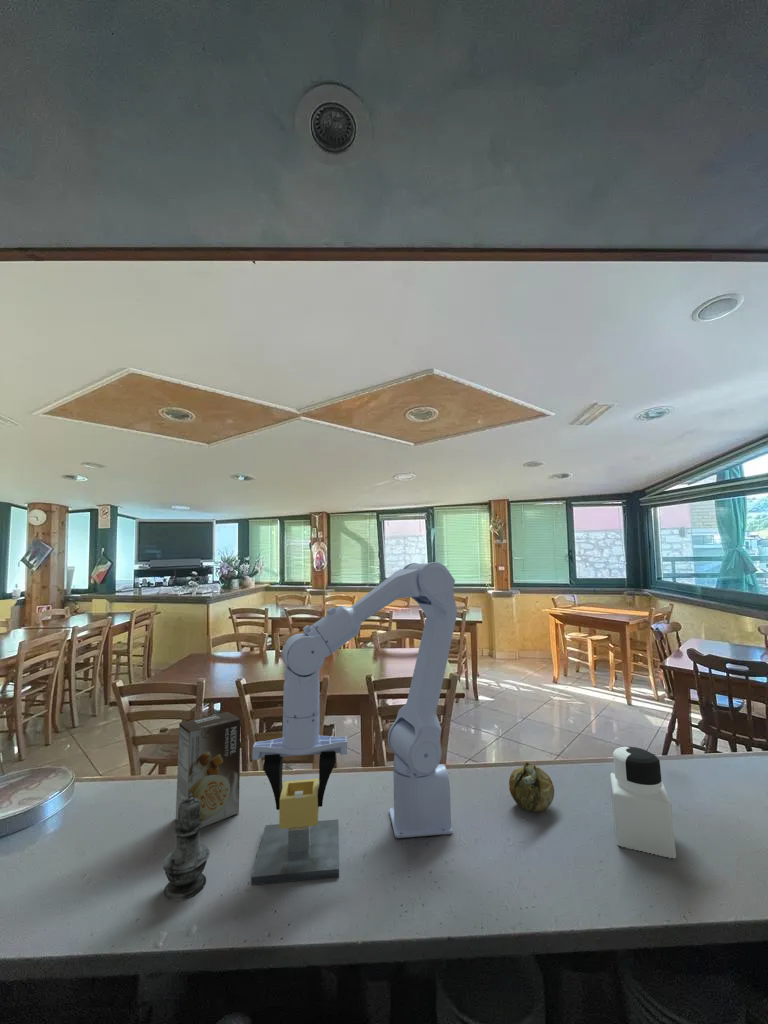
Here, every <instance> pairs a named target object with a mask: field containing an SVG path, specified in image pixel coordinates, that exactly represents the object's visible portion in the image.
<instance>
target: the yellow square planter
mask: <svg viewBox="0 0 768 1024" xmlns="http://www.w3.org/2000/svg"><path fill="white" fill-rule="evenodd" d="M318 791H319V777H318V778H309V779H306V778H305V779H295V780H285V781H283V782H282V792H281V796H280V809H279V810H278V811H279V812H278V813H279V817H278V818H279V820H278V821H279V822H278V824H279V829H285V828H295V827H305V826H316V825H318V821H319V811H320V809H319V808H320V807H318Z"/></svg>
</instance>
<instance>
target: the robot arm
mask: <svg viewBox="0 0 768 1024" xmlns="http://www.w3.org/2000/svg"><path fill="white" fill-rule="evenodd" d="M455 582H456V580H455V578H454V577H453V575H452V574H451V572H450V571H449V570H448V568H447V567H446V566H445V565H444V564H442V563H441V562H435V561H433V562H432V561H431V562H427V563H416V562H411V563H408V564H406V565H405V566H404V567H403V568H402V569H401V568H400V569H398V570H396V571H394V572H393V573H392V574H390V576H388V577H387V578H385V579H384V580H383V581H382V582H381V583H379V584H378V585H377V586H375V587H374V588H372V589H371V591H369V592H368V593H367V594H365V595H363V596H362V597H361V598H359V600H357V601H356V602H355V603H354V604H353V605H351V606H345V605H339V606H337V607H334V606H331V607H329V608H328V609H327V610H326V613H327V614H326V615H325V616H322V617H321V618H320V619H319V620H316V622H314V623H313V624H312V625H308V624H307V625H305V626H304V627H302V630H303V632H304V633H295V634H293V635H291V636H290V637H289V638H288V639H287V640H286V641H285V644H283V648H282V650H281V651H280V653H281V654H280V655H281V658H282V661H283V663H284V664H285V665H286V666H285V667H284V670H285V671H284V683H283V700H282V701H283V704H282V705H283V706H282V708H283V709H282V737H279V738H274V739H269V740H262V741H255V742H254V743H253V746H252V757H251V758H252V761H258V760H260V759H262V758H264V761H263V766H262V767H263V771H264V773H265V776H266V777H267V779H268V782H269V784H270V787H271V789H272V793H273V797H274V801H275V809H276V810H277V811H279V809H280V796H281V792H282V787H283V768H284V757H294V756H312V755H319V760H318V764H319V765H318V776H319V777H318V778H319V791H318V807H319V808H320V807H323V803H324V802H323V801H324V796H325V792H326V787H327V785H328V782H329V779H330V776H331V774H332V772H333V769H334V768H335V764H336V754H339V755H342V756H343V755H348V737H347V736H332V735H331V736H329V735H320V712H321V711H320V705H321V704H320V703H321V701H320V694H321V693H320V691H321V690H320V688H321V686H320V684H321V681H320V670H321V668H322V667H323V665H324V662H325V659H326V657H330V656H331V655H332V654H333V653H334V652H336V651H337V650H338V649H340V648H341V647H343V646H344V645H346V644H347V643H348V642H349V641H351V640H352V639H354V638H355V637H356V636H358V635H359V633H360V630H361V626H362V623H363V622H365V621H366V620H368V619H369V618H370V617H372V616H373V615H376V614H377V613H379V612H380V611H381V610H383V609H384V608H386V607H387V606H388V605H390V604H392V603H393V602H395V601H397V599H403V598H406V599H407V598H411V599H412V600H414V602H417V604H418V606H419V607H420V609H421V610H422V612H423V613H424V616H425V621H424V626H423V630H422V634H421V639H420V644H419V647H418V652H417V657H416V660H415V665H414V670H413V674H412V678H411V683H410V687H409V690H408V695H407V700H406V703H405V704H404V705H402V707H400V708H399V709H398V712H397V715H396V718H395V720H394V722H393V723H392V725H391V726H390V728H389V729H388V733H387V743H388V746H389V749H390V750H391V751H392V752H393V754H394V755H393V758H394V759H393V763H392V765H393V767H392V768H393V774H392V775H393V807H390V808H389V810H388V812H389V817H390V821H391V824H392V825H391V826H392V829H393V835H394V837H395V838H396V839H402V838H403V839H404V838H414V837H427V836H429V837H430V836H438V835H439V836H440V835H451V834H452V833H453V828H452V812H451V811H452V808H451V807H452V806H451V805H452V804H451V786H450V778H449V773H448V770H447V767H446V765H445V764H443V763H440V762H441V759H442V757H443V756H442V753H443V752H442V745H441V738H442V737H441V736H442V726H441V723H440V720H439V717H438V715H437V709H438V707H439V706H438V705H439V700H440V696H441V692H442V687H443V682H444V677H445V674H446V668H447V663H448V658H449V654H450V649H451V645H452V639H453V634H454V630H455V626H456V620H457V616H458V609H457V604H456V599H455V594H454V586H455Z"/></svg>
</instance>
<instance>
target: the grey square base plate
mask: <svg viewBox="0 0 768 1024" xmlns="http://www.w3.org/2000/svg"><path fill="white" fill-rule="evenodd" d="M339 827H340V826H339V819H326V820H318V825H316V826H305V827H295V828H285V829H279V823H277V824H276V823H275V824H265V826H264V831H263V834H262V837H261V842H260V845H259V849H258V853H257V855H256V856H257V857H256V860H255V864H254V868H253V871H252V874H251V882H250V883H251V886H254V885H257V886H258V885H265V884H276V883H277V884H278V883H286V882H298V881H308V880H309V881H310V880H318V879H319V880H320V879H328V878H331V879H332V878H338V877H340V844H339V843H340V840H339V839H340V836H339V835H340V834H339V829H340V828H339Z"/></svg>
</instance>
